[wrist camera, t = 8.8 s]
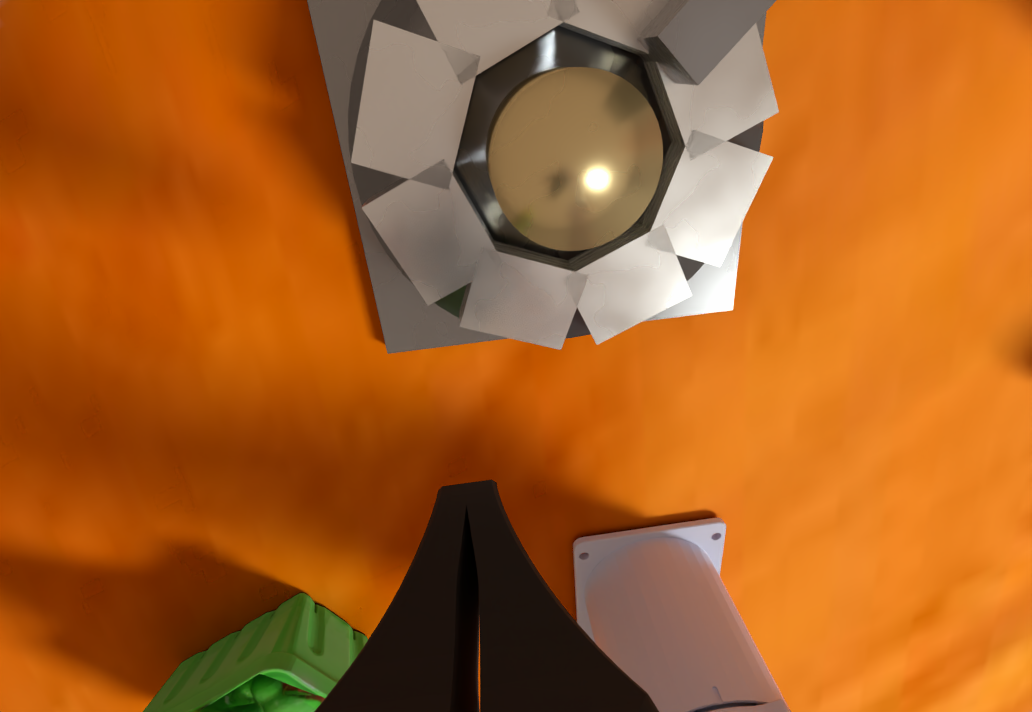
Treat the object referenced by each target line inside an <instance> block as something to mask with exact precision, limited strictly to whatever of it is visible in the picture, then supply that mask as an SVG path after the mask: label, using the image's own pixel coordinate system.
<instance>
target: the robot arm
mask: <svg viewBox="0 0 1032 712" xmlns="http://www.w3.org/2000/svg"><path fill="white" fill-rule="evenodd" d="M725 532H726V525H725V523H724V521H723V520H722V519H721V518H709V519H703V520H696V521H689V522H682V523H675V524H668V525H662V526H655V527H648V528H641V529H634V530H628V531H621V532H614V533H607V534H600V535H593V536H587V537H581V538H578V539H577V540H575V541H574V543H573V557H574V576H575V595H576V614H577V622H576V621H575V620H574V619H573V618H572V616H571V615H570V614H569V613H568V612H567V610H566V609H565V608H564V606H563V605H562V604H561V603H560V601H559V600H558V599H557V598H556V596H555V595H554V593H553V592H552V591H551V589H550V588H549V587H548V585H547V584H546V582H545V581H544V580H543V578H542V577H541V575H540V574H539V572H538V571H537V569H536V567H535V566H534V564H533V563H532V561H531V560H530V558H529V556H528V555H527V553H526V551H525V550H524V548H523V546H522V544H521V542H520V541H519V539H518V537H517V535H516V533H515V531H514V529H513V527H512V525H511V523H510V521H509V519H508V517H507V514H506V512H505V510H504V507H503V505H502V502H501V499H500V496H499V493H498V489H497V483H496V482H494V481H493V480H486V481H478V482H471V483H464V484H457V485H450V486H443V487H441V488H440V489H439V491H438V494H437V498H436V502H435V505H434V508H433V512H432V515H431V518H430V520H429V523H428V526H427V528H426V531H425V533H424V536H423V538H422V541H421V543H420V545H419V548H418V550H417V553H416V555H415V557H414V559H413V561H412V564H411V566H410V568H409V570H408V572H407V574H406V576H405V578H404V580H403V582H402V584H401V586H400V588H399V590H398V591H397V593H396V595H395V597H394V599H393V601H392V602H391V604H390V606H389V608H388V609H387V611H386V613H385V614H384V616H383V618H382V619H381V621H380V623H379V624H378V626H377V627H376V629H375V630H374V632H373V633H372V635H371V637H370V638H369V640H368V641H367V643H366V644H365V646H364V647H363V649H362V650H361V652H360V653H359V654H358V656H357V657H356V659H355V660H354V661H353V663H352V664H351V666H350V667H349V668H348V670H347V671H346V672H345V673H344V675H343V676H342V677H341V679H340V680H339V681H338V682H337V684H336V685H335V686H334V688H333V689H332V690H331V691H330V693H329V694H328V695H327V697H326V698H325V699H324V700H323V702H322V703H321V704H320V705H319V707H318V708H317V709H316V710H315V711H314V712H479V696H478V657H479V615H480V712H791V711H790V709H789V707H788V705H787V703H786V702H785V700H784V698H783V696H782V694H781V692H780V690H779V688H778V686H777V684H776V683H775V681H774V679H773V677H772V675H771V673H770V671H769V669H768V667H767V665H766V663H765V662H764V660H763V658H762V656H761V654H760V652H759V650H758V648H757V646H756V644H755V643H754V641H753V639H752V637H751V635H750V633H749V631H748V629H747V627H746V625H745V624H744V622H743V620H742V618H741V616H740V614H739V612H738V610H737V608H736V606H735V605H734V603H733V601H732V599H731V597H730V595H729V593H728V591H727V589H726V587H725V585H724V584H723V582H722V580H721V578H720V569H721V562H722V555H723V547H724V540H725ZM581 553H584V554H581Z"/></svg>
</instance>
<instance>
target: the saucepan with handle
mask: <svg viewBox="0 0 1032 712" xmlns="http://www.w3.org/2000/svg"><path fill="white" fill-rule="evenodd" d="M416 1H417V3H418V5H419V6H420V8H421V10H422V12H423V14H424V16H425V18H426V20H427V22H428V24H429V26H430V27H431V29H432V31H433V33H434V35H435V37H436V39H437V41H438V42H437V41H435V40H432V39H429V38H426V37H423V36H420V35H417V34H414V33H411V32H408V31H406V30H403V29H400V28H397V27H394V26H391V25H388V24H385V23H382V22H379V21H376V20H374V21H373V27H372V33H371V40H370V46H369V52H368V59H367V65H366V71H365V77H364V84H363V90H362V96H361V102H360V109H359V115H358V121H357V128H356V134H355V140H354V146H353V153H352V159H351V163H354V164H357V165H361V166H364V167H368V168H371V169H375V170H378V171H382V172H385V173H389V174H393V175H396V176H400V177H403V178H401V179H399V180H398V181H396V182H394V183H393V184H391V185H389V186H388V187H386V188H384V189H383V190H381V191H379V192H377V193H376V194H374V195H372V196H371V197H369V198H367V199H366V201H365V203H364V204H363V206H362V209H363V211H364V212H365V214H366V215H367V217H368V218H369V220H370V221H371V222H372V224H373V225H374V227H375V228H376V230H377V231H378V233H379V234H380V236H381V237H382V239H383V240H384V242H385V243H386V245H387V246H388V247H389V249H390V250H391V252H392V253H393V255H394V256H395V258H396V259H397V261H398V262H399V264H400V265H401V267H402V268H403V269H404V271H405V272H406V274H407V275H408V277H409V278H410V280H411V281H412V283H413V284H414V286H415V287H416V289H417V290H418V291H419V293H420V294H421V296H422V297H423V299H424V300H425V302H426V303H427V305H428V306H429V305H430V304H432V303H434V302H436V301H438V300H439V299H441V298H443V297H445V296H447V295H448V294H450V293H452V292H454V291H456V290H458V289H459V288H461V287H463V286H465V285H467V286H466V289H465V293H464V297H463V300H462V304H461V308H460V311H459V321H460V327H462V328H467V329H471V330H475V331H480V332H484V333H489V334H493V335H498V336H502V337H506V338H511V339H515V340H520V341H524V342H529V343H533V344H537V345H542V346H546V347H551V348H555V349H559V350H561V348H562V346H563V343H564V340H565V338H566V335H567V332H568V330H569V327H570V325H571V322H572V319H573V317H574V314H575V311H576V309H577V308H578V310H579V312H580V314H581V316H582V317H583V319H584V321H585V323H586V325H587V327H588V329H589V331H590V333H591V335H592V337H593V338H594V340H595V342H596V344H599V343H601V342H603V341H605V340H607V339H609V338H611V337H613V336H615V335H617V334H619V333H621V332H623V331H625V330H627V329H629V328H631V327H632V326H634V325H636V324H638V323H640V322H642V321H644V320H646V319H648V318H650V317H652V316H654V315H656V314H658V313H660V312H662V311H664V310H665V309H667V308H669V307H671V306H673V305H675V304H677V303H679V302H681V301H683V300H685V299H687V298H689V297H691V296H692V293H691V291H690V288H689V286H688V283H687V281H686V278H685V276H684V273H683V271H682V268H681V266H680V263H679V261H678V258H677V256H676V255H679V256H682V257H686V258H689V259H693V260H697V261H700V262H704V263H707V264H711V265H714V266H718V267H721V265H722V263H723V261H724V259H725V256H726V254H727V252H728V250H729V248H730V246H731V244H732V242H733V240H734V238H735V236H736V234H737V232H738V230H739V228H740V225H741V223H742V221H743V219H744V217H745V215H746V213H747V211H748V209H749V207H750V205H751V203H752V201H753V199H754V196H755V194H756V192H757V190H758V188H759V186H760V184H761V182H762V180H763V178H764V176H765V174H766V172H767V170H768V168H769V165H770V163H771V161H772V159H773V157H771V156H768V155H766V154H763V153H760V152H757V151H754V150H751V149H748V148H745V147H742V146H739V145H737V144H734V143H731V142H728V141H727V140H729V139H731V138H733V137H734V136H736V135H738V134H740V133H742V132H744V131H745V130H747V129H749V128H751V127H753V126H754V125H756V124H758V123H760V122H762V121H763V120H765V119H767V118H769V117H771V116H772V115H774V114H776V113H778V112H779V110H778V106H777V102H776V99H775V95H774V91H773V87H772V83H771V79H770V75H769V71H768V67H767V63H766V60H765V56H764V52H763V48H762V44H761V40H760V36H759V32H758V28H757V25H756V22H757V21H758V20H759V19H760V18H761V17H762V15H763V14H764V13H765V12H766V11H767V10H768V9H769V8H770V7H771V6H772V4H773V3H774V2H775V1H776V0H416ZM556 26H561V27H564V28H566V29H569V30H572V31H574V32H577V33H580V34H582V35H585V36H588V37H591V38H593V39H596V40H599V41H601V42H604V43H607V44H609V45H612V46H615V47H618V48H620V49H623V50H626V51H628V52H631V53H634V54H636V55H637V56H638V57H639V58H640V59H641V61H642V62H643V65H644V67H645V70H646V73H647V76H648V78H649V81H650V84H651V87H652V90H653V92H654V95H655V98H656V101H657V103H658V106H659V109H660V112H661V114H662V117H663V120H664V123H665V126H666V128H667V131H668V134H669V137H670V139H671V142H670V145H669V147H668V150H667V152H666V155H665V157H664V160H663V163H662V170H661V175H660V179H659V182H658V185H657V188H656V191H655V193H654V195H653V197H652V199H651V201H650V203H649V205H648V206H647V208H646V209H645V211H644V212H643V214H642V215H641V218H640V220H639V222H637V223H636V224H634V225H632V226H631V227H630V228H629V229H627V230H626V231H625V232H624V233H622V234H621V235H620V236H618V237H616V238H615V239H613V240H611V241H609V242H607V243H605V244H603V245H601V246H597V247H594V248H591V249H588V250H586V251H584V252H582V253H580V254H579V255H577V256H575V257H573V258H571V259H569V260H566V259H562V258H558V257H555V256H551V255H547V254H543V253H540V252H536V251H532V250H528V249H525V248H521V247H517V246H513V245H510V244H506V243H502V242H498V241H495V240H494V239H493V238H492V236H491V234H490V232H489V231H488V229H487V227H486V225H485V224H484V222H483V220H482V218H481V217H480V215H479V213H478V211H477V210H476V208H475V206H474V204H473V203H472V201H471V199H470V197H469V196H468V194H467V192H466V190H465V189H464V187H463V185H462V183H461V182H460V180H459V178H458V176H457V175H456V173H455V171H454V165H455V160H456V156H457V152H458V148H459V144H460V139H461V135H462V131H463V127H464V123H465V119H466V114H467V110H468V106H469V102H470V98H471V94H472V89H473V85H474V81H475V77H476V75H478V74H479V73H481V72H483V71H484V70H486V69H488V68H489V67H491V66H493V65H494V64H496V63H497V62H499V61H501V60H502V59H504V58H506V57H507V56H509V55H510V54H512V53H514V52H515V51H517V50H519V49H520V48H522V47H524V46H525V45H527V44H528V43H530V42H532V41H533V40H535V39H537V38H538V37H540V36H542V35H543V34H545V33H546V32H548V31H550V30H551V29H553V28H555V27H556Z"/></svg>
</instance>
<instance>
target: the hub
mask: <svg viewBox="0 0 1032 712" xmlns="http://www.w3.org/2000/svg"><path fill="white" fill-rule="evenodd" d="M307 2H308V6H309V11H310V15H311V19H312V24H313V28H314V33H315V37H316V41H317V46H318V50H319V54H320V59H321V63H322V68H323V72H324V76H325V81H326V85H327V90H328V94H329V98H330V103H331V107H332V112H333V116H334V120H335V125H336V129H337V133H338V138H339V142H340V147H341V151H342V155H343V160H344V164H345V169H346V173H347V177H348V182H349V186H350V191H351V195H352V199H353V204H354V208H355V212H356V217H357V221H358V226H359V230H360V234H361V239H362V243H363V248H364V252H365V256H366V261H367V265H368V270H369V274H370V278H371V283H372V287H373V291H374V296H375V300H376V305H377V309H378V313H379V318H380V322H381V327H382V331H383V335H384V340H385V344H386V349H387V353H388V354H389V353H396V352H404V351H412V350H420V349H428V348H436V347H444V346H452V345H460V344H468V343H476V342H483V341H491V340H499V339H507V338H506V337H502V336H498V335H493V334H489V333H484V332H480V331H475V330H471V329H467V328H462V327H460V321H459V311H460V308H461V304H462V300H463V297H464V293H465V289H466V286H467V285H465V286H463V287H461V288H459V289H458V290H456V291H454V292H452V293H450V294H448V295H447V296H445V297H443V298H441V299H439V300H438V301H436V302H434V303H432V304H430V305H429V306H428V305H427V303H426V302H425V300H424V299H423V297H422V296H421V294H420V293H419V291H418V290H417V289H416V287H415V286H414V284H413V283H412V281H411V280H410V278H409V277H408V275H407V274H406V272H405V271H404V269H403V268H402V267H401V265H400V264H399V262H398V261H397V259H396V258H395V256H394V255H393V253H392V252H391V250H390V249H389V247H388V246H387V245H386V243H385V242H384V240H383V239H382V237H381V236H380V234H379V233H378V231H377V230H376V228H375V227H374V225H373V224H372V222H371V221H370V220H369V218H368V217H367V215H366V214H365V212H364V211H363V209H362V206H363V204H364V203H365V201H366V199H367V198H369V197H371V196H372V195H374V194H376V193H377V192H379V191H381V190H383V189H384V188H386V187H388V186H389V185H391V184H393V183H394V182H396V181H398V180H399V179H401V178H403V177H400V176H396V175H393V174H389V173H385V172H382V171H378V170H375V169H371V168H368V167H364V166H361V165H357V164H354V163H351V159H352V153H353V146H354V140H355V134H356V128H357V121H358V115H359V109H360V102H361V96H362V90H363V84H364V77H365V71H366V65H367V59H368V52H369V46H370V40H371V33H372V27H373V21H374V20H376V21H379V22H382V23H385V24H388V25H391V26H394V27H397V28H400V29H403V30H406V31H408V32H411V33H414V34H417V35H420V36H423V37H426V38H429V39H432V40H435V41H437V39H436V37H435V35H434V33H433V31H432V29H431V27H430V26H429V24H428V22H427V20H426V18H425V16H424V14H423V12H422V10H421V8H420V6H419V5H418V3H417V1H416V0H307ZM765 18H766V12H765V13H764V14H763V15H762V17H761V18H760V19H759V20H758V21H757V22H756V25H757V28H758V32H759V36H760V40H761V44H762V45H763V36H764V27H765ZM437 42H438V41H437ZM762 133H763V121H762V122H760V123H758V124H756V125H754V126H753V127H751V128H749V129H747V130H745V131H744V132H742V133H740V134H738V135H736V136H734V137H733V138H731V139H729V140H727V141H728V142H731V143H734V144H737V145H739V146H742V147H745V148H748V149H751V150H754V151H757V152H759V150H760V144H761V138H762ZM670 142H671V139H670V137H669V134H668V131H667V128H666V126H665V123H664V120H663V117H662V114H661V112H660V109H659V106H658V103H657V101H656V98H655V95H654V92H653V90H652V87H651V84H650V81H649V78H648V76H647V73H646V70H645V67H644V65H643V62H642V61H641V59H640V58H639V57H638V56H637V55H636V54H634V53H631V52H628V51H626V50H623V49H620V48H618V47H615V46H612V45H609V44H607V43H604V42H601V41H599V40H596V39H593V38H591V37H588V36H585V35H582V34H580V33H577V32H574V31H572V30H569V29H566V28H564V27H561V26H556V27H555V28H553V29H551V30H550V31H548V32H546V33H545V34H543V35H542V36H540V37H538V38H537V39H535V40H533V41H532V42H530V43H528V44H527V45H525V46H524V47H522V48H520V49H519V50H517V51H515V52H514V53H512V54H510V55H509V56H507V57H506V58H504V59H502V60H501V61H499V62H497V63H496V64H494V65H493V66H491V67H489V68H488V69H486V70H484V71H483V72H481V73H479V74H478V75H476V77H475V81H474V85H473V89H472V94H471V98H470V102H469V106H468V110H467V114H466V119H465V123H464V127H463V131H462V135H461V139H460V144H459V148H458V152H457V156H456V160H455V165H454V171H455V173H456V175H457V176H458V178H459V180H460V182H461V183H462V185H463V187H464V189H465V190H466V192H467V194H468V196H469V197H470V199H471V201H472V203H473V204H474V206H475V208H476V210H477V211H478V213H479V215H480V217H481V218H482V220H483V222H484V224H485V225H486V227H487V229H488V231H489V232H490V234H491V236H492V238H493V239H494V240H495V241H498V242H502V243H506V244H510V245H513V246H517V247H521V248H525V249H528V250H532V251H536V252H540V253H543V254H547V255H551V256H555V257H558V258H562V259H566V260H569V259H571V258H573V257H575V256H577V255H579V254H580V253H582V252H584V251H586V250H588V249H591V248H594V247H597V246H601V245H603V244H605V243H607V242H609V241H611V240H613V239H615V238H616V237H618V236H620V235H621V234H622V233H624V232H625V231H626V230H627V229H629V228H630V227H631V226H632V225H634V224H636V223H637V222H639V220H640V218H641V215H642V214H643V212H644V211H645V209H646V208H647V206H648V205H649V203H650V201H651V199H652V197H653V195H654V193H655V191H656V188H657V185H658V182H659V179H660V175H661V170H662V163H663V160H664V157H665V155H666V152H667V150H668V147H669V145H670ZM742 223H743V221H742ZM742 223H741V225H740V228H739V230H738V232H737V234H736V236H735V238H734V240H733V242H732V244H731V246H730V248H729V250H728V252H727V254H726V256H725V259H724V261H723V263H722V265H721V267H718V266H714V265H711V264H707V263H704V262H700V261H697V260H693V259H689V258H686V257H682V256H679V255H676V256H677V258H678V261H679V263H680V266H681V268H682V271H683V273H684V276H685V278H686V281H687V283H688V286H689V288H690V291H691V293H692V296H691V297H689V298H687V299H685V300H683V301H681V302H679V303H677V304H675V305H673V306H671V307H669V308H667V309H665V310H664V311H662V312H660V313H658V314H656V315H654V316H652V317H650V318H648V319H646V320H644V321H649V320H657V319H665V318H673V317H681V316H689V315H697V314H705V313H713V312H720V311H728V310H733V303H734V294H735V285H736V276H737V267H738V258H739V249H740V240H741V231H742ZM589 334H591V333H590V331H589V329H588V327H587V325H586V323H585V321H584V319H583V317H582V316H581V314H580V312H579V310H578V308H577V309H576V311H575V314H574V317H573V319H572V322H571V325H570V327H569V330H568V332H567V335H566V338H573V337H578V336H583V335H589Z"/></svg>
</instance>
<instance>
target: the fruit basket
mask: <svg viewBox="0 0 1032 712" xmlns="http://www.w3.org/2000/svg"><path fill="white" fill-rule="evenodd" d="M367 641H368V639H367V637H366V636H365V635H363V634H362V633H359V632H357V631H353V629H352V628H351V627H350V625H349V624H348V623H346V622H345V621H344V620H342V619H341V618H339V617H338V616H336V615H335V614H333V613H332V612H331V611H329V610H328V609H326V608H325V607H322V606H320V605H317V604H314V602H313V600H312V599H311V597H310V596H308V595H307V594H305V593H299V594H297V595H295V596H294V597H292V598H290V599H289V600H287V601H285V602H284V603H282V604H281V605H280V606H279V607H278V608H277V609H276V611H271V612H267V613H265V614H263V615H262V616H260V617H258V618H256V619H255V620H253V621H251V622H250V623H248V624H246V625H245V626H244V628H243V629H242V630H241V631H238V632H234V633H231V634H229V635H228V636H226V637H224V638H222V639H221V640H219V641H217V642H216V643H214V644H212V645H211V646H210V648H209V649H208V650H207V651H203V652H199V653H197V654H195V655H193V656H192V657H190V658H188V659H187V660H185V661H183V662H182V663H181V664H180V665H179V666H178V668H177V669H176V670H175V671H174V673H173V674H172V675H171V676H170V678H169V679H168V680H167V681H166V683H165V684H164V685H163V687H162V688H161V689H160V691H159V692H158V693H157V694H156V696H155V697H154V698H153V699H152V701H151V702H150V703H149V705H148V706H147V707H146V708H145V710H144V711H143V712H314V711H315V710H316V709H317V708H318V707H319V705H320V704H321V703H322V702H323V700H324V699H325V698H326V697H327V695H328V694H329V693H330V691H331V690H332V689H333V688H334V686H335V685H336V684H337V682H338V681H339V680H340V679H341V677H342V676H343V675H344V673H345V672H346V671H347V670H348V668H349V667H350V666H351V664H352V663H353V661H354V660H355V659H356V657H357V656H358V654H359V653H360V652H361V650H362V649H363V647H364V646H365V644H366V643H367Z"/></svg>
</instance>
